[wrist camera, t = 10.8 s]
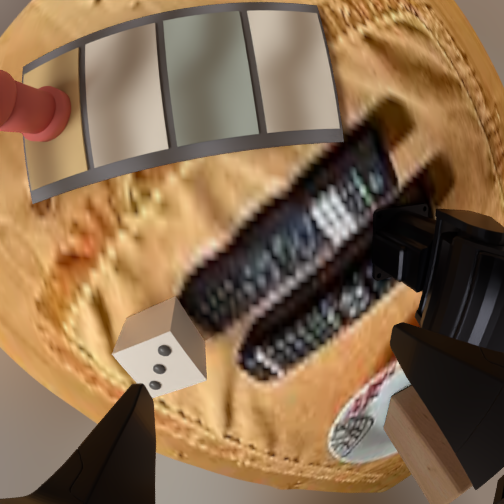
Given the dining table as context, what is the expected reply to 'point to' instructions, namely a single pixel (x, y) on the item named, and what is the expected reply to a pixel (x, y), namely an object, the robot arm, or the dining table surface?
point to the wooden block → (424, 448)
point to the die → (162, 349)
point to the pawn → (32, 109)
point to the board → (184, 91)
